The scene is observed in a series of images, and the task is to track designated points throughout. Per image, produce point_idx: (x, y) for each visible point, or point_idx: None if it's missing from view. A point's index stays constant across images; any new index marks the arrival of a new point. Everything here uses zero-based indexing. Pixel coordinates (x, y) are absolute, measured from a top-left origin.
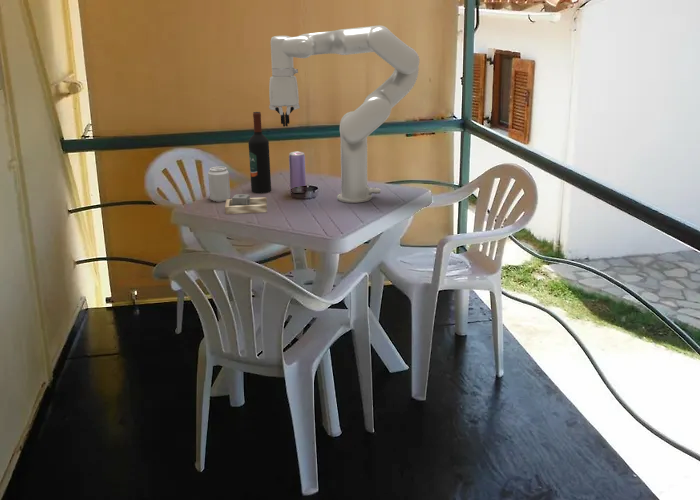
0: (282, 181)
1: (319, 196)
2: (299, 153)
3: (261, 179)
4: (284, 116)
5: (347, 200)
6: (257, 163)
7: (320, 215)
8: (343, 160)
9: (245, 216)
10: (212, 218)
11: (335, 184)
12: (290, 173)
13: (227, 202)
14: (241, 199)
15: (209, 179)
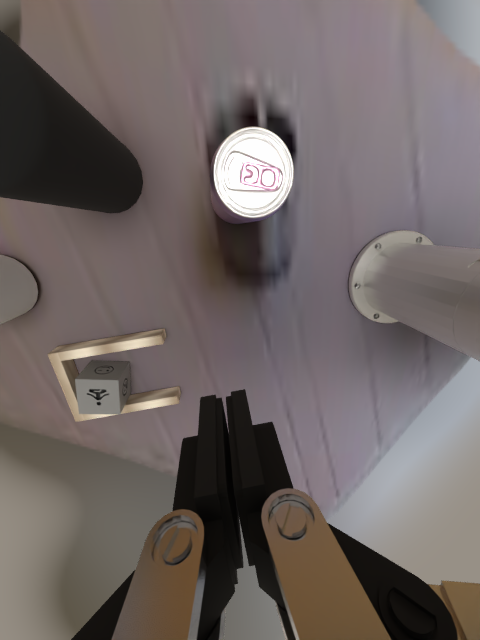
0: (153, 11)
1: (301, 252)
2: (267, 170)
3: (103, 208)
4: (239, 560)
5: (372, 320)
6: (57, 204)
7: (302, 408)
8: (450, 341)
9: (138, 422)
10: (65, 438)
11: (357, 89)
12: (216, 207)
13: (65, 384)
14: (108, 412)
15: None
